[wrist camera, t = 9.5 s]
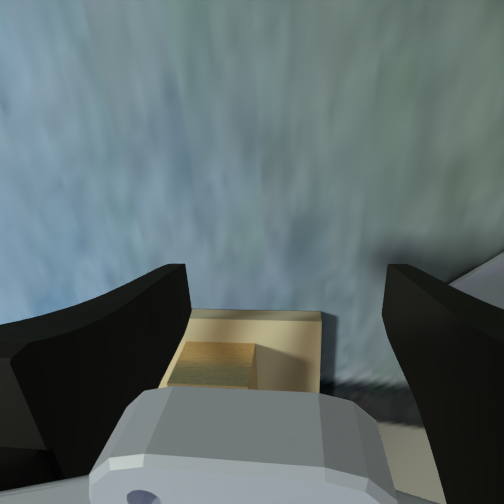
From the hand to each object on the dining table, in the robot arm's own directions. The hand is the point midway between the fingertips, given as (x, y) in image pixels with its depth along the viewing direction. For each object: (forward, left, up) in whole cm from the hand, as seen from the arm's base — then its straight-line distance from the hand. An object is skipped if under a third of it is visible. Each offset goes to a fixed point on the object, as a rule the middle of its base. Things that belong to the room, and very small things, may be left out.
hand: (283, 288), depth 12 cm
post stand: (-6, +11, -9) cm, 16 cm away
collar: (-6, +11, -8) cm, 15 cm away
